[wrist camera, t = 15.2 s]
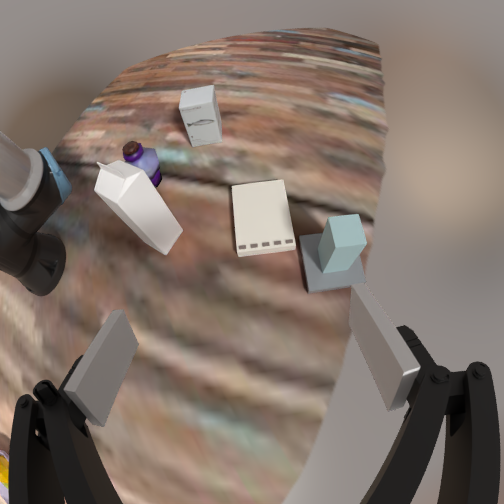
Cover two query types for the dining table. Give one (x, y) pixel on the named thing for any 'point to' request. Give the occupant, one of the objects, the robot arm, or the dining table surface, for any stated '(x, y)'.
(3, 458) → the fruit bowl
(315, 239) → the coaster
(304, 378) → the dining table surface
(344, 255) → the light blue tall block
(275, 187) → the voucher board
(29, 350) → the dining table surface
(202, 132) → the supplement box
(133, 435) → the dining table surface
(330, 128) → the dining table surface
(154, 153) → the potion bottle
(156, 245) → the milk
